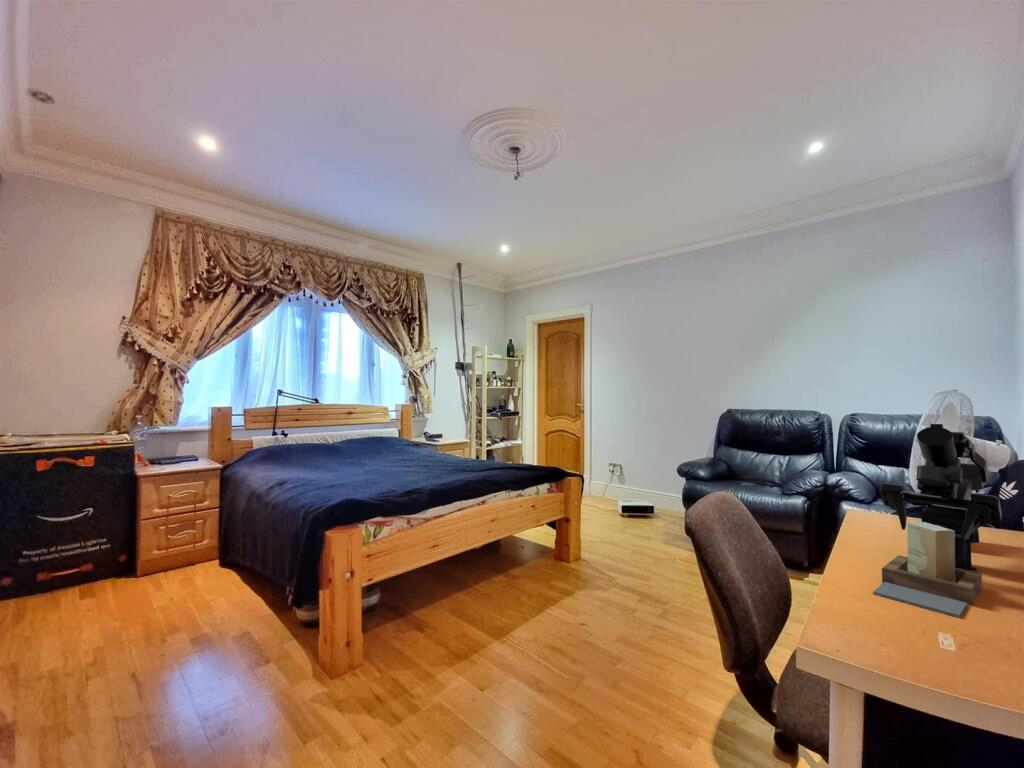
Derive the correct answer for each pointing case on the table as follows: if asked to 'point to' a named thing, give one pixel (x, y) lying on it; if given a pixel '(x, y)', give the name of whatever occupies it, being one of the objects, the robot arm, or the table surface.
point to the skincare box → (931, 550)
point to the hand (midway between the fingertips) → (931, 533)
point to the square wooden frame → (934, 581)
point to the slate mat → (921, 599)
